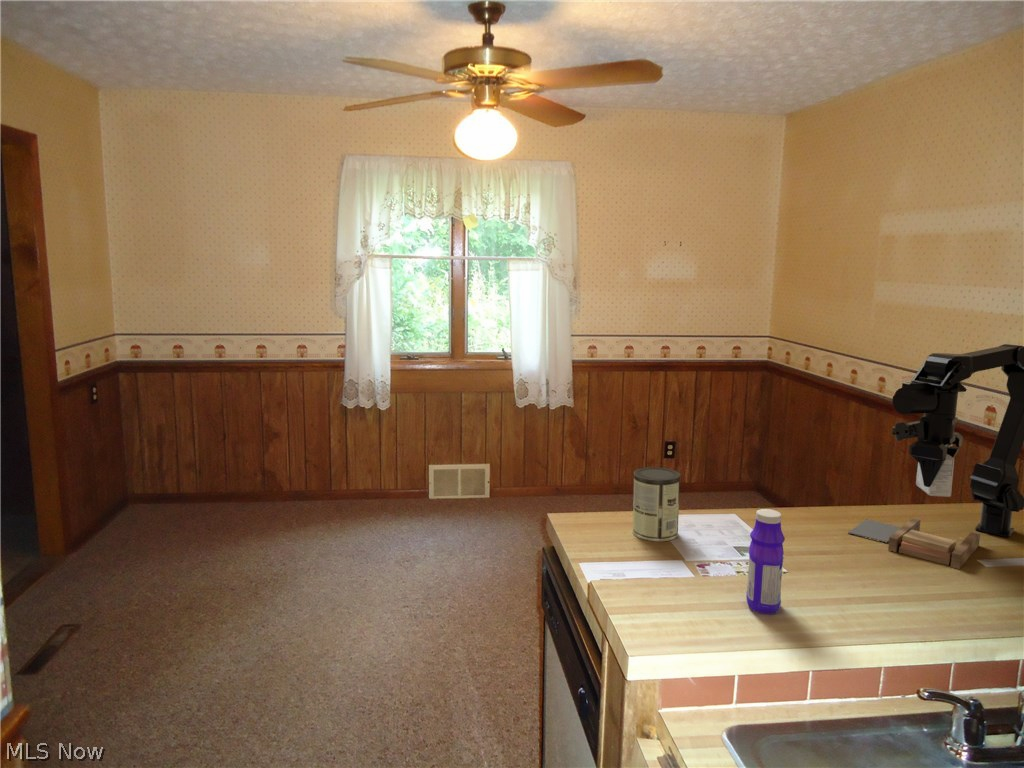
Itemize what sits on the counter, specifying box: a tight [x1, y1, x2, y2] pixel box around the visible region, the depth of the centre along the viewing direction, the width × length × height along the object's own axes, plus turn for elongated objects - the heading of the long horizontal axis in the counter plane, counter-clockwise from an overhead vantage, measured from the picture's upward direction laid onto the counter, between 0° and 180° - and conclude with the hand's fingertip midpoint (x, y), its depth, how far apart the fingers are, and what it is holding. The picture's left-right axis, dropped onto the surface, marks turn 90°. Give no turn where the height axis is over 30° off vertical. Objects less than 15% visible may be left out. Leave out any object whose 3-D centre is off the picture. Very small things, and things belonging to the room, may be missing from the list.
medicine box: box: [915, 454, 955, 498], centre depth 149 cm, size 8×4×9 cm, turn 168°
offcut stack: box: [898, 530, 957, 566], centre depth 142 cm, size 6×9×4 cm
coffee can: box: [632, 466, 682, 543], centre depth 153 cm, size 10×10×14 cm
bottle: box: [745, 508, 786, 615], centre depth 119 cm, size 7×6×17 cm
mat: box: [847, 518, 902, 544], centre depth 156 cm, size 12×8×1 cm, turn 135°
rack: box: [887, 517, 981, 570], centre depth 146 cm, size 17×13×3 cm
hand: (932, 482), depth 149 cm, fingers closed on medicine box, 9 cm apart
